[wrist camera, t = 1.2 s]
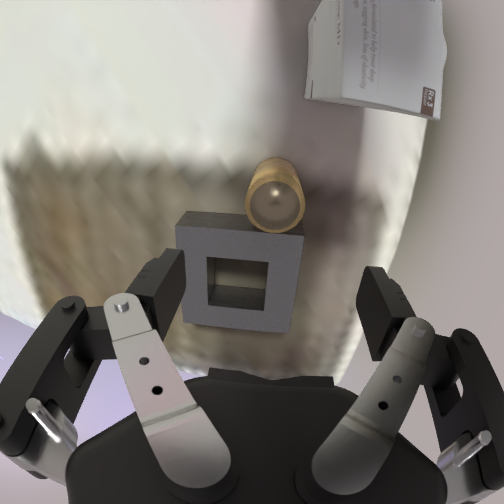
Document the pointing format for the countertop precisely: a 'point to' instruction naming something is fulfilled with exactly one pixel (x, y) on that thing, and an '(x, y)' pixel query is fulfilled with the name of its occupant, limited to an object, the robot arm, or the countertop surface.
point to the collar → (244, 248)
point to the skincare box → (378, 55)
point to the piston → (275, 196)
